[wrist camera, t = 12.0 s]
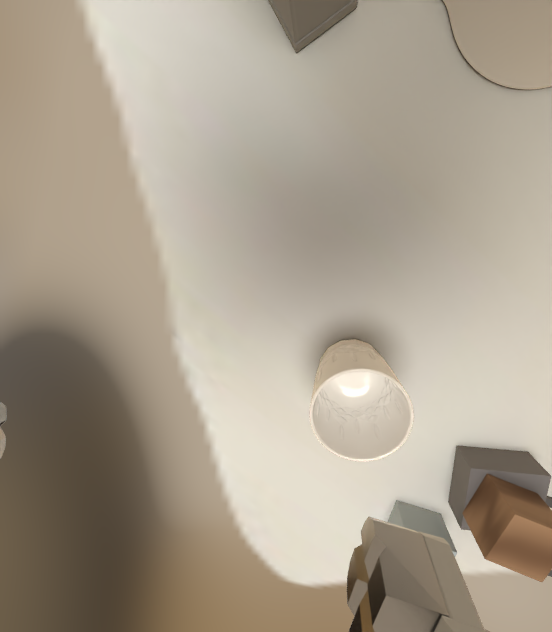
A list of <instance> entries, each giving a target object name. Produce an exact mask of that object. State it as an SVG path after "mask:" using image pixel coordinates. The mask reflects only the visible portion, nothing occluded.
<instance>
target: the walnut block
mask: <svg viewBox="0 0 552 632" xmlns="http://www.w3.org/2000/svg"><path fill="white" fill-rule="evenodd" d="M462 514H463V516H464V518H465V520H466V522H467V524H468V526H469V528H470V530H471V532H472V534H473V536H474V538H475V540H476V542H477V544H478V546H479V548H480V550H481V552H482V554H483V556H484V558H485V559H486V560H489V561H491V562H494V563H496V564H499V565H501V566H503V567H506V568H508V569H511V570H513V571H516V572H518V573H521V574H523V575H525V576H528V577H530V578H533V579H535V580H538V581H540V582H543V581H544V579H545V578H546V577H547V575H548V574H549V573H550V571H551V570H552V510H551V509H550V508H549V506H548V505H547V504H546V503H545V502H544V500H543V499H542V498H541V497H540V496H539V494H538V493H535V492H533V491H530V490H528V489H525V488H523V487H520V486H518V485H515V484H512V483H510V482H507V481H505V480H502V479H500V478H497V477H495V476H492V475H490V474H486V476H485V477H484V479H483V481H482V482H481V484H480V485H479V487H478V489H477V490H476V492H475V493H474V495H473V497H472V498H471V500H470V501H469V503H468V505H467V506H466V508H465V509H464V511H463V513H462Z"/></svg>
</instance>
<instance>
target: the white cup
mask: <svg viewBox="0 0 552 632" xmlns="http://www.w3.org/2000/svg"><path fill="white" fill-rule="evenodd" d="M309 417H310V424H311V427H312V430H313V432H314V434H315V436H316V438H317V439H318V440H319V442H320V443H321V444H322V445H323V446H324V447H325V448H326V449H327V450H329V451H330V452H332V453H333V454H335V455H337V456H339V457H341V458H344V459H347V460H352V461H360V462H365V461H374V460H378V459H381V458H384V457H386V456H388V455H390V454H392V453H393V452H395V451H396V450H397V449H399V448H400V447H401V446H402V445H403V444H404V442H405V441H406V440H407V438H408V436H409V434H410V432H411V430H412V426H413V421H414V411H413V406H412V402H411V400H410V397H409V395H408V394H407V392H406V391H405V389H404V388H403V386H402V385H401V383H400V382H399V380H398V378H397V377H396V375H395V374H394V372H393V371H392V369H391V368H390V367H389V365H388V364H387V363H386V361H385V360H384V359H383V358H382V356H381V355H380V354H379V353H378V352H377V351H376V350H375V349H374V348H373V347H372V346H371V345H370V344H368V343H365V342H362V341H360V340H357V339H352V340H341V341H339V342H337V343H335V344H333V345H332V346H330V347H328V349H327V350H326V351H325V353H324V354H323V356H322V357H321V358H320V364H319V367H318V370H317V373H316V377H315V382H314V388H313V393H312V399H311V404H310V411H309Z"/></svg>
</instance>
